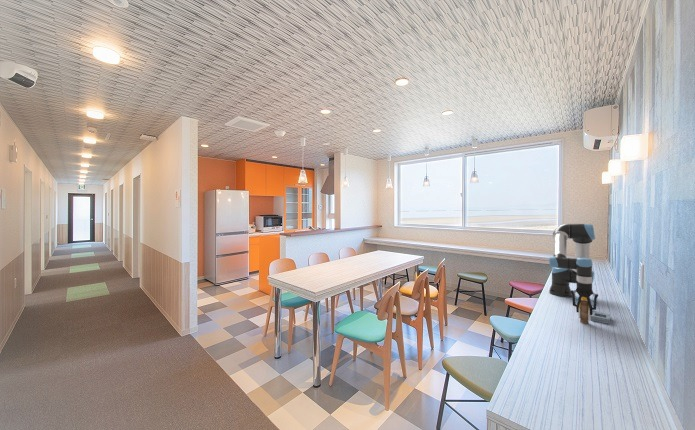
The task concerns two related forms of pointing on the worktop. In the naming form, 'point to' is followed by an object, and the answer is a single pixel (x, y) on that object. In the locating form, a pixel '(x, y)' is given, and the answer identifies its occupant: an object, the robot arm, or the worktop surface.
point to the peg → (584, 312)
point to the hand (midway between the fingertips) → (584, 318)
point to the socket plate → (600, 317)
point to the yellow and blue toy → (584, 299)
